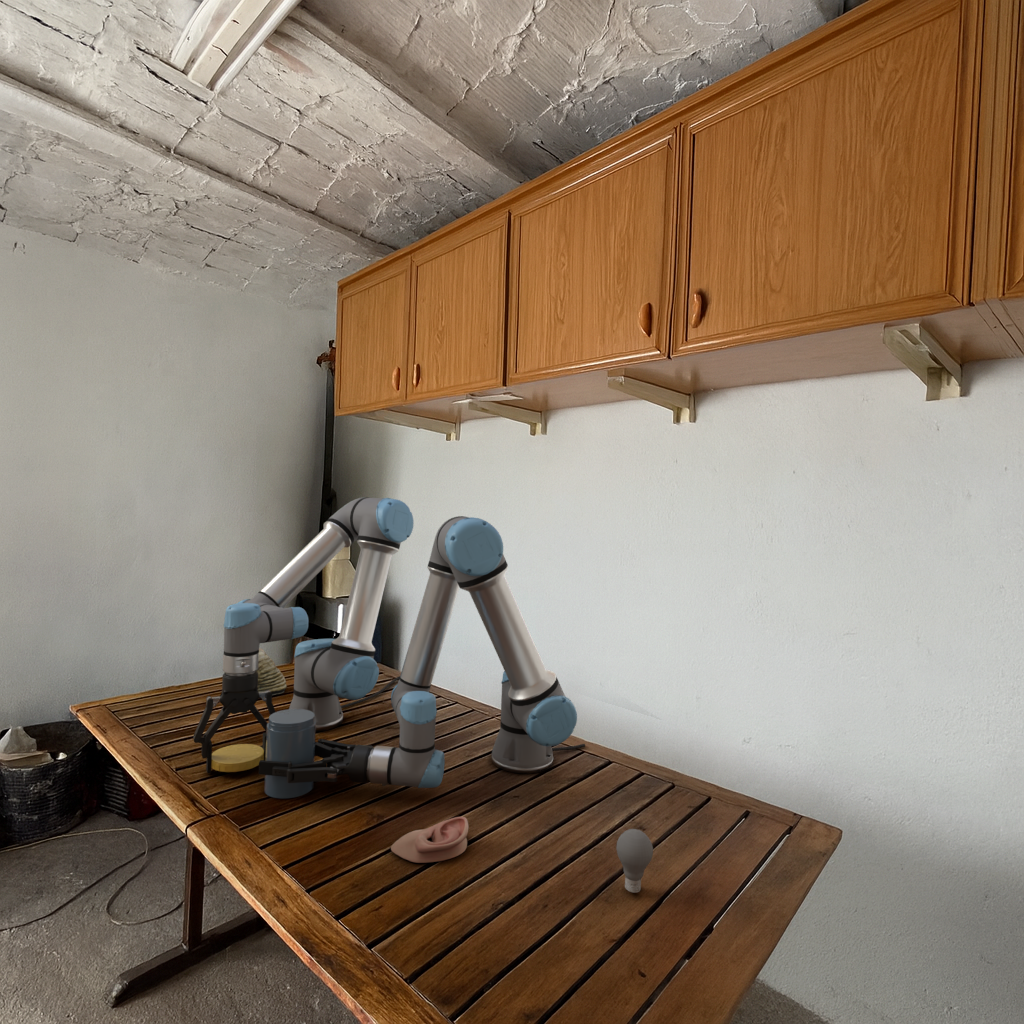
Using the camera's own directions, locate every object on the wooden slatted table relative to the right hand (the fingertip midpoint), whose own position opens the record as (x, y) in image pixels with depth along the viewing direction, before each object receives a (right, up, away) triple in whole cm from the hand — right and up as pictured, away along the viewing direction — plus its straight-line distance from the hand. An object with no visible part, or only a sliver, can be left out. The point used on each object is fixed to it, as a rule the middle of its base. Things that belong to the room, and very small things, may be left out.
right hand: (271, 756), depth 137 cm
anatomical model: (+37, -8, -21) cm, 44 cm away
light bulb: (+72, -10, -32) cm, 80 cm away
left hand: (-11, -5, +8) cm, 14 cm away
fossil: (-28, -4, +61) cm, 67 cm away
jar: (+4, -7, 0) cm, 8 cm away
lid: (-11, -3, +8) cm, 14 cm away
